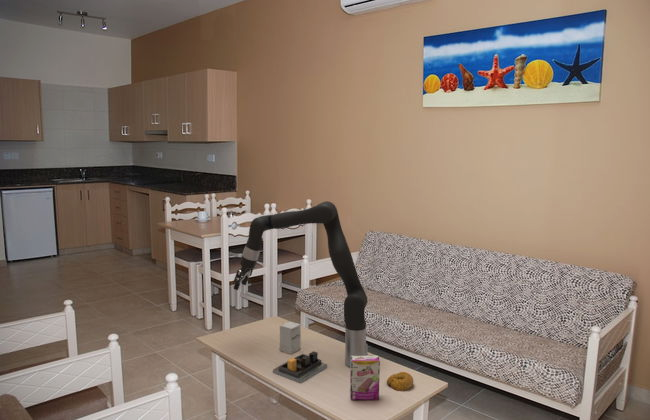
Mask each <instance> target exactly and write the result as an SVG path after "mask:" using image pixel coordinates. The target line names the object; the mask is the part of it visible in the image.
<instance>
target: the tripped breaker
mask: <svg viewBox="0 0 650 420" xmlns="http://www.w3.org/2000/svg"><path fill="white" fill-rule="evenodd" d="M293 358H294V357H291V358H290V359H288V360H287V362H288V369H289V370H292V371H297V370H296V359H293Z"/></svg>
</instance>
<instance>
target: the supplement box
mask: <svg viewBox="0 0 650 420" xmlns="http://www.w3.org/2000/svg"><path fill="white" fill-rule="evenodd" d="M301 333H302V332H301V324H300V323H296V322H293V321H287V322H286V323H283V324H281V325H279V350H280V352H281V351H282V352H284V353H286V354H289V355H291V354H293V353H295V352H297V351H300V350H301V346H302V345H301V344H302V343H301V342H302V341H301V338H302V335H301Z"/></svg>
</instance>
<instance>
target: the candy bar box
mask: <svg viewBox="0 0 650 420" xmlns="http://www.w3.org/2000/svg"><path fill="white" fill-rule="evenodd" d="M380 364H381V360H380V357H379V355H368V356H351V364H350V367H349V368H350V369H349V370H350V371H349V372H350V375H349V377H350V378H349V395H350V400H351V401H370V400H371V401H375V400H376V401H378V400H379V399H380V372H381V371H380V366H381V365H380Z"/></svg>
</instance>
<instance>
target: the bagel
mask: <svg viewBox="0 0 650 420" xmlns="http://www.w3.org/2000/svg"><path fill="white" fill-rule="evenodd" d="M386 384H387V385H388V386H391V387H390V388H392V389H394V390H395V391H398V392H399V391H400V392H401V391H406V390H407V391H408V390H409V389H410V388H411V387H412V386H413V385H414V377H413V376H412V375H411V374H410V373H408V372H406V371H399V372H398V373H393V374H392V375H389V377H388V378H387V379H386Z"/></svg>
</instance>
